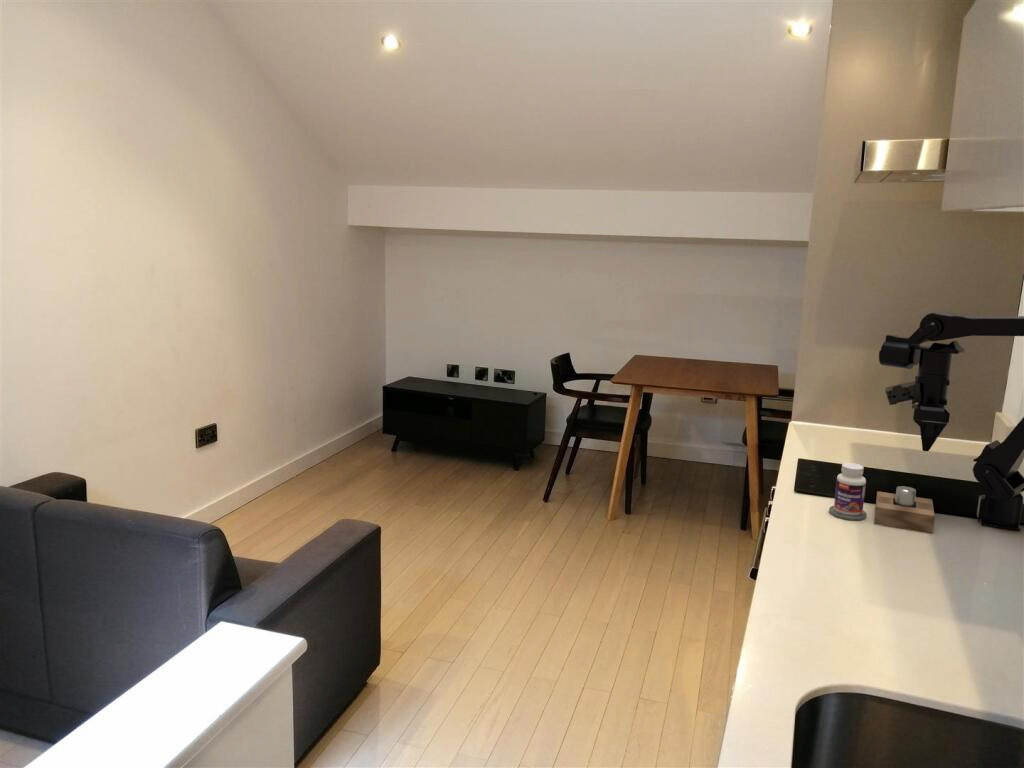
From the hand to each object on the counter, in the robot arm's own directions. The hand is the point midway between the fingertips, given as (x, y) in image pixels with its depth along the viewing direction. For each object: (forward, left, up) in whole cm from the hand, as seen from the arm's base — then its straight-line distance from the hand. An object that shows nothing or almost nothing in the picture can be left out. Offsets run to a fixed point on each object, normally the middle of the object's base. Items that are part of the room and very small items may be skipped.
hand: (924, 445), depth 155 cm
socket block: (+3, +13, -12) cm, 18 cm away
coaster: (+13, +15, -12) cm, 23 cm away
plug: (+3, +13, -12) cm, 18 cm away
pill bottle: (+13, +15, -12) cm, 23 cm away
